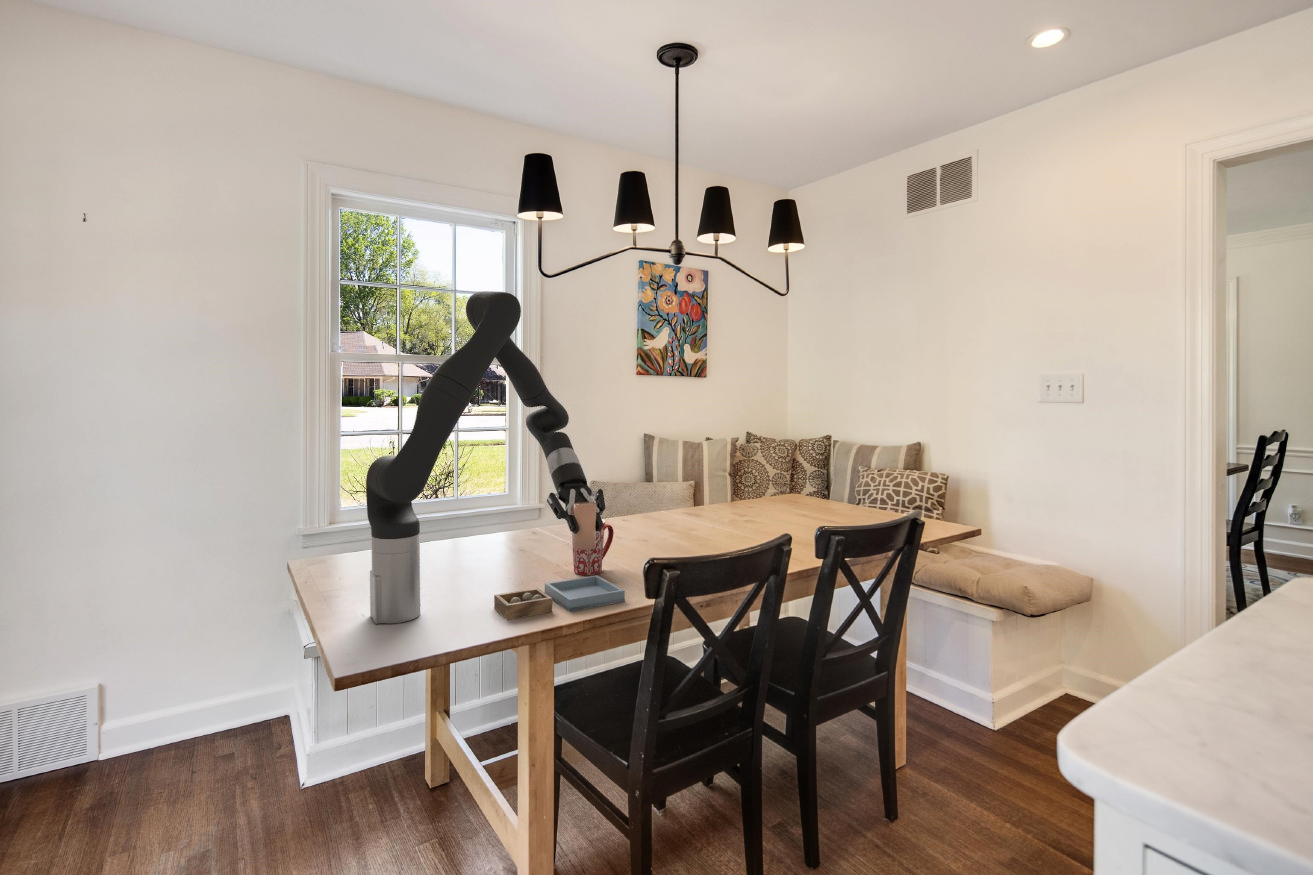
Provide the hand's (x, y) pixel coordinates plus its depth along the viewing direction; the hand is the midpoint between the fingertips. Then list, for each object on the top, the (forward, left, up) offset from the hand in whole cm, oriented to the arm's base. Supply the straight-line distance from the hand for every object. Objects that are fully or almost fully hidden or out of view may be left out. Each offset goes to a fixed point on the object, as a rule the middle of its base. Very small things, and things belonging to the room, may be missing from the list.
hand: (588, 530), depth 146 cm
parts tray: (-15, +1, -16) cm, 22 cm away
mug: (+12, +21, -16) cm, 29 cm away
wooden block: (0, +2, -4) cm, 5 cm away
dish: (0, +2, -16) cm, 16 cm away
